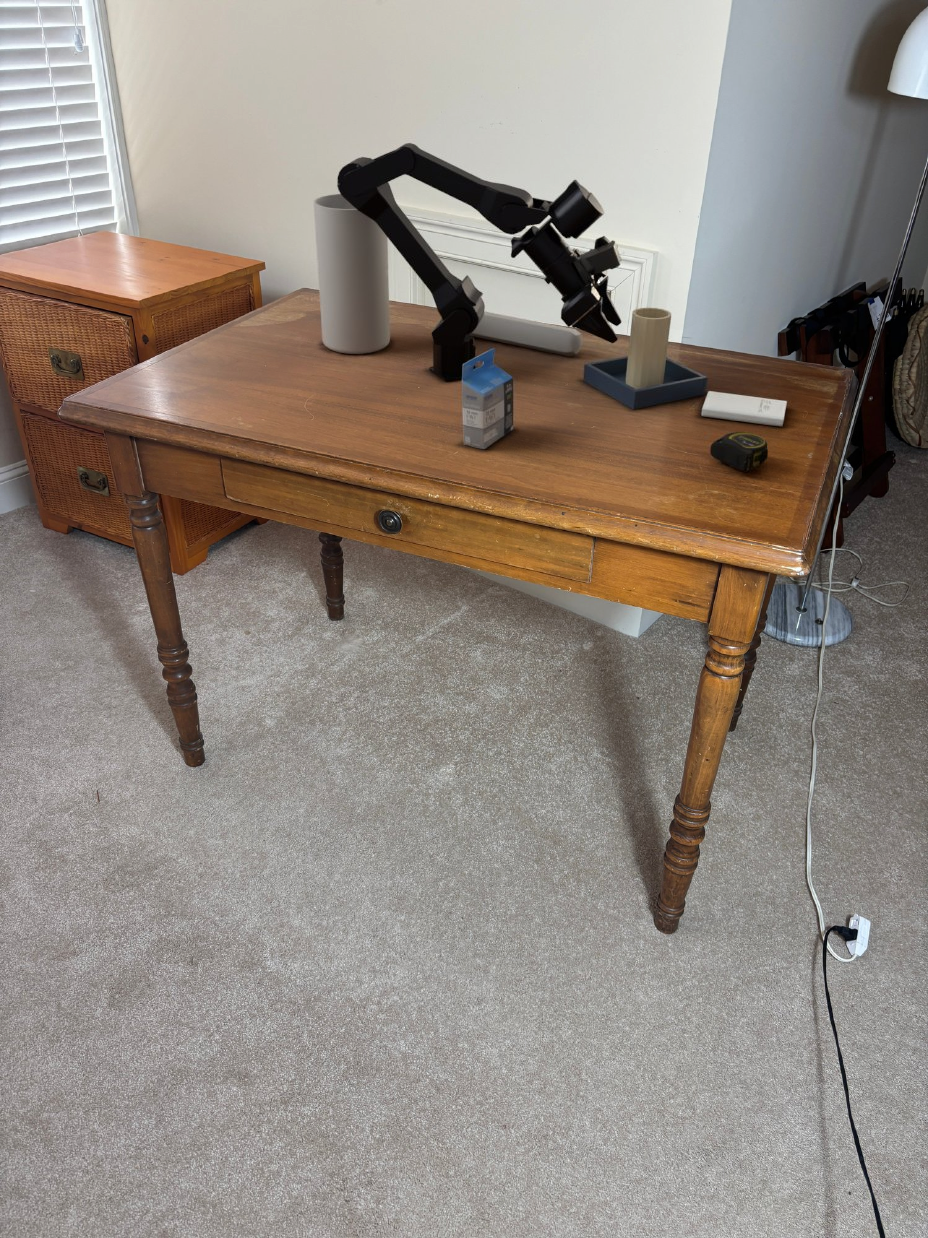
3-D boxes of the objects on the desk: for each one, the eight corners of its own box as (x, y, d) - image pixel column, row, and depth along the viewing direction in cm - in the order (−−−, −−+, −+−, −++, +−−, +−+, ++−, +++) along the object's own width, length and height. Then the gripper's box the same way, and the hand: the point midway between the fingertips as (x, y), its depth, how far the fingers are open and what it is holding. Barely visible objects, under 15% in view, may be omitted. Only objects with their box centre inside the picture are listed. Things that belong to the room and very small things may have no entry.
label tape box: (484, 450, 144) (485, 368, 137) (460, 444, 146) (461, 363, 139) (514, 430, 150) (516, 351, 143) (491, 424, 152) (492, 346, 145)
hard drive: (707, 399, 161) (785, 408, 158) (700, 417, 155) (782, 427, 151) (708, 389, 160) (787, 399, 157) (702, 407, 154) (784, 417, 151)
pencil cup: (653, 393, 162) (662, 321, 155) (619, 386, 165) (626, 314, 158) (668, 382, 166) (677, 311, 159) (634, 375, 169) (642, 305, 162)
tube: (589, 330, 178) (471, 307, 189) (578, 328, 174) (458, 304, 184) (583, 360, 180) (466, 335, 191) (571, 358, 175) (453, 333, 186)
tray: (633, 409, 157) (635, 391, 156) (583, 380, 168) (584, 363, 166) (705, 394, 163) (707, 376, 161) (652, 367, 174) (654, 350, 172)
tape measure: (705, 461, 141) (709, 437, 139) (738, 450, 144) (742, 426, 142) (741, 478, 136) (746, 453, 134) (775, 466, 140) (779, 442, 138)
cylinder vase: (383, 357, 178) (379, 211, 163) (315, 353, 179) (305, 207, 164) (395, 334, 188) (392, 194, 174) (331, 330, 189) (323, 191, 175)
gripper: (588, 236, 145) (654, 316, 150) (598, 210, 161) (658, 284, 165) (532, 287, 151) (598, 363, 155) (548, 257, 166) (607, 327, 171)
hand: (617, 332), depth 161 cm, fingers open, 9 cm apart
